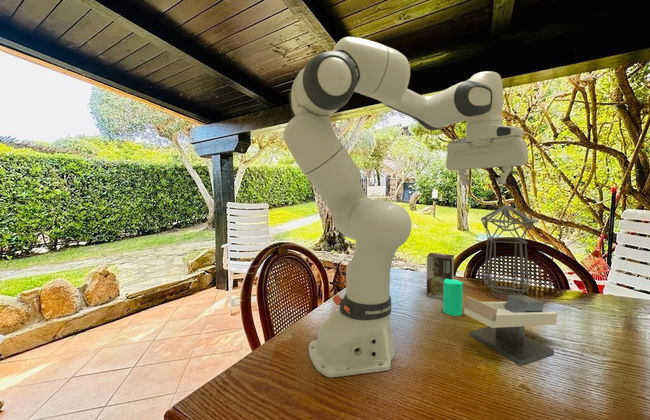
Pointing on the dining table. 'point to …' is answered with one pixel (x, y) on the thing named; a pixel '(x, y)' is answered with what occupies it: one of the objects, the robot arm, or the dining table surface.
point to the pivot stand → (512, 343)
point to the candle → (452, 297)
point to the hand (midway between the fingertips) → (482, 184)
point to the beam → (505, 315)
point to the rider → (523, 304)
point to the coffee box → (438, 273)
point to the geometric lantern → (524, 218)
